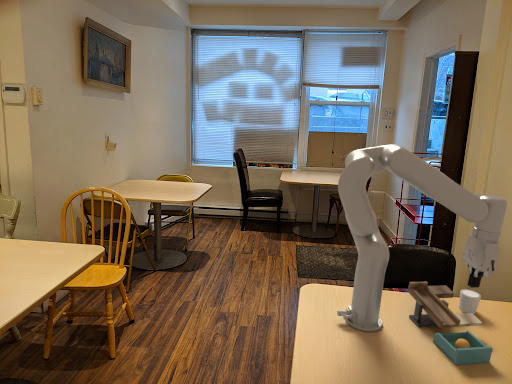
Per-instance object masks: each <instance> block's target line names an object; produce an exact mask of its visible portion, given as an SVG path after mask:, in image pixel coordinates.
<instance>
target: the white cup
mask: <svg viewBox="0 0 512 384" xmlns="http://www.w3.org/2000/svg"><path fill="white" fill-rule="evenodd" d="M481 298H482V295H481V294H480V293H479V292H476V291H475V290H472V289H465V288H464V289H463V288H462V289H461V290H460V292H459V302H458V309H459V310H460V311H461V312H462V313H472V314H474V315H475V314H476V313H477V310H478V307H479V304H480V302H481Z"/></svg>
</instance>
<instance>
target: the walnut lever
mask: <svg viewBox="0 0 512 384" xmlns="http://www.w3.org/2000/svg"><path fill="white" fill-rule="evenodd" d="M407 292H408V294H409V295H410V296H411V298H413V299H414V301H415V302H416V301H420V302H421V303H422V304H423V309H422V310H423V311H424V312H425V314H428V315H429V316H430V317H431V319H432V320H433V321H434V322H435V323H436V324H437V325H438V326H437V327H438V328H439V329H442V328H455V327H456V328H457V327H458V328H459V327H461V328H462V327H473V326H475V327H476V326H482V325H483V322H482V321H481V320H480V319H479V318H478V317H477V316H476V315H475V314H472V313H465V312H463V313H454V312H453V311H452V310H451V309H450V308H449V306H448V307H447V306H446V305H445V304H444V303H443V302H442V301H441V299H452V298H454V295H455V292H454V291H452V290H451V288H450V287H448V286H447V285H443V284H442V285H428V281H409V283H408V287H407Z"/></svg>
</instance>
